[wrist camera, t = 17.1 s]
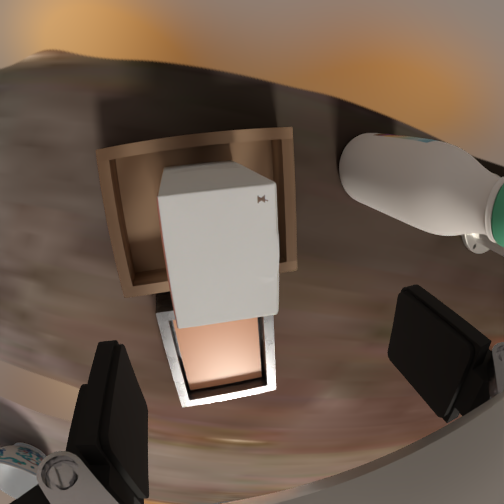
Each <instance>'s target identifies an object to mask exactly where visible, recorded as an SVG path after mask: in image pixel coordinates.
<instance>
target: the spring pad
mask: <svg viewBox="0 0 504 504" xmlns="http://www.w3.org/2000/svg"><path fill="white" fill-rule="evenodd" d="M173 323H174V327H175V332H176V336H177V340H178V344H179V349H180V353H181V357H182V361H183V365H184V368H185V372H186V376H187V380H188V384H189V387H190V390H194V389H200V388H206V387H212V386H218V385H223V384H229V383H234V382H239V381H244V380H249V379H254V378H258V377H262V374H261V360H260V346H259V332H258V317H256V318H250V319H243V320H236V321H229V322H223V323H216V324H209V325H203V326H196V327H188V328H181V329H179V328H177V324H176V320H173Z"/></svg>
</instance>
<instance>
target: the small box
mask: <svg viewBox="0 0 504 504" xmlns="http://www.w3.org/2000/svg"><path fill="white" fill-rule="evenodd" d="M157 210H158V218H159V225H160V233H161V240H162V247H163V253H164V259H165V265H166V272H167V278H168V283H169V288H170V294H171V299H172V305H173V310H174V315H175V320H176V324H177V328H179V329H181V328H188V327H196V326H203V325H209V324H216V323H223V322H229V321H236V320H243V319H250V318H256V317H263V316H269V315H276V314H277V313H278V310H279V234H278V217H277V190H276V183H275V182H274V181H272V180H270V179H268V178H266V177H264V176H262V175H260V174H258V173H256V172H254V171H252V170H250V169H248V168H246V167H245V166H243V165H241V164H239V163H236V162H234V161H232V160H230V161H218V162H207V163H197V164H187V165H178V166H169V167H164V168H163V172H162V177H161V181H160V186H159V191H158V194H157Z"/></svg>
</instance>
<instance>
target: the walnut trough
mask: <svg viewBox="0 0 504 504" xmlns="http://www.w3.org/2000/svg"><path fill="white" fill-rule="evenodd" d="M96 157H97V165H98V172H99V179H100V185H101V191H102V197H103V203H104V209H105V214H106V220H107V225H108V230H109V235H110V240H111V244H112V249H113V253H114V258H115V262H116V266H117V270H118V275H119V279H120V283H121V287H122V290H123V294H124V298H128V297H135V296H142V295H149V294H155V293H162V292H168V291H170V288H169V283H168V278H167V272H166V265H165V259H164V253H163V247H162V240H161V233H160V225H159V218H158V210H157V194H158V191H159V186H160V181H161V177H162V172H163V168H164V167H169V166H178V165H187V164H197V163H207V162H218V161H230V160H232V161H234V162H236V163H239V164H241V165H243V166H245V167H246V168H248V169H250V170H252V171H254V172H256V173H258V174H260V175H262V176H264V177H266V178H268V179H270V180H272V181H274V182H275V183H276V190H277V217H278V234H279V273H284V272H290V271H295V270H297V231H296V196H295V170H294V148H293V129H292V127H271V128H254V129H240V130H228V131H217V132H207V133H198V134H189V135H181V136H173V137H166V138H159V139H152V140H146V141H140V142H134V143H128V144H122V145H117V146H111V147H106V148H102V149H98V150H96Z"/></svg>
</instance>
